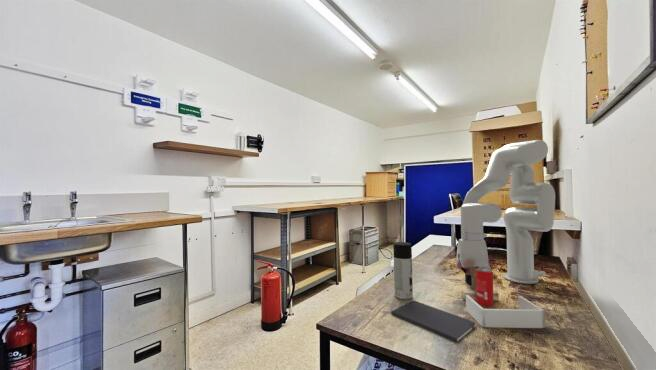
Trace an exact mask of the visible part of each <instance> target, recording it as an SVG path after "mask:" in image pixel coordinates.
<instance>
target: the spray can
mask: <svg viewBox="0 0 656 370" xmlns="http://www.w3.org/2000/svg"><path fill="white" fill-rule="evenodd" d="M412 250H413V249H412V243H411V242H407V241H405V242H404V241H396V242H394V243H393V281H394V283H393V284H394V286H393V287H394V296H395V297H396V298H397V299H399V300H406V301H407V300H411V299H413V293H414V291H413V254H412V253H413V252H412Z"/></svg>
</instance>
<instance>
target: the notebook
mask: <svg viewBox="0 0 656 370" xmlns="http://www.w3.org/2000/svg"><path fill="white" fill-rule="evenodd" d="M390 313H391V316H394V317H396V318H399V319H401V320H404V321H406V322H409V323H410V324H413V325H415V326H418V327H419V328H422V329H424V330H427V331H428V332H431V333H434V334H437V336H438V335H439V336H441V337H444V338H445V339H448V340H450V341H452V342H455V343H458V341H460V340H461V339H462V338H463V337H465V336H466V335H467V334H468V333H469V332H471V331H472V330H474V329H475V327H476V323H477V322H475V321H473V320H470V319H467V318H465V317H462V316H459V315H456V314H453V313H450V312H447V311H444V310H442V309H439V308H436V307H434V306H430V305H428V304H426V303H425V304H424V303H422V302H419V301H416V300H411V301H409V302H407V303H405V304H403V305H401V306H399V307H397V308H395V309H393V310H392V311H391V312H390Z"/></svg>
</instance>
